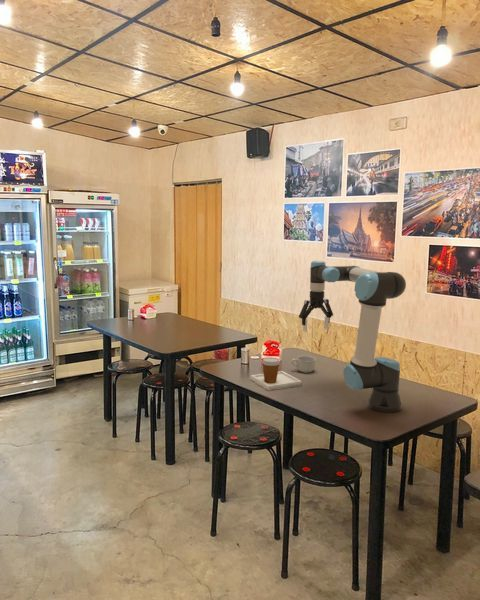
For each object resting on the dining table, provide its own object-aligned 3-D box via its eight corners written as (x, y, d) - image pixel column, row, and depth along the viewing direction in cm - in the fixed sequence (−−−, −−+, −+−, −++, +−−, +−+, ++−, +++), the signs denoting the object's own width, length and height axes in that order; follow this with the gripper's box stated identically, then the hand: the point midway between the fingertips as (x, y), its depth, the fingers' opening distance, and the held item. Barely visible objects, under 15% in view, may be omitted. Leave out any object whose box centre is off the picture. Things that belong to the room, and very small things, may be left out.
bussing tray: (301, 385, 267) (301, 381, 267) (268, 390, 258) (268, 386, 258) (282, 375, 285) (282, 370, 284) (250, 379, 276) (250, 375, 276)
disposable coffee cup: (258, 379, 272) (258, 358, 270) (274, 377, 276) (274, 356, 274) (266, 385, 263) (266, 362, 262) (282, 383, 267) (283, 361, 265)
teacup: (314, 369, 298) (315, 355, 296) (315, 374, 287) (316, 360, 286) (290, 368, 299) (291, 354, 298) (290, 373, 288) (291, 359, 287)
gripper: (332, 288, 274) (330, 327, 277) (292, 290, 263) (291, 330, 266) (340, 290, 267) (339, 329, 270) (300, 292, 256) (299, 333, 259)
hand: (315, 330), depth 268 cm, fingers open, 13 cm apart
